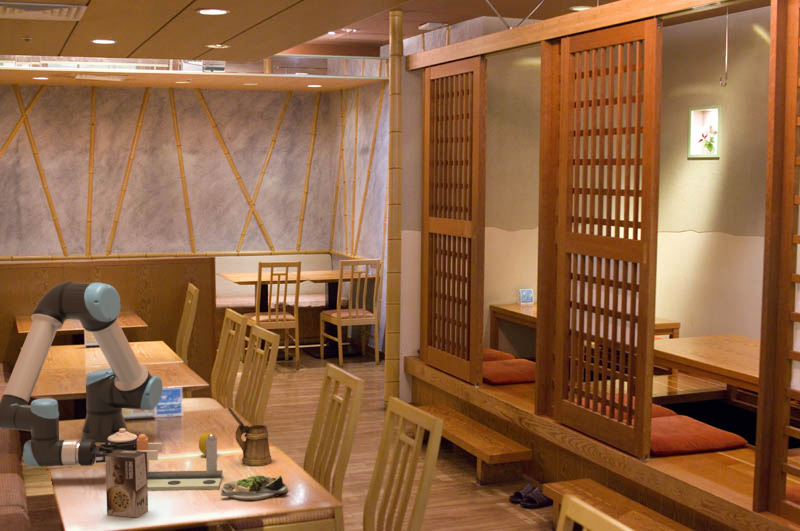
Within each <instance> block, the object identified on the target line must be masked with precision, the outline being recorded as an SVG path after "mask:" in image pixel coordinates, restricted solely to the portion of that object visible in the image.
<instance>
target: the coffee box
mask: <svg viewBox="0 0 800 531" xmlns="http://www.w3.org/2000/svg"><path fill="white" fill-rule="evenodd" d="M104 464H105V465H104V466H105V487H106V488H105V489H106V515H107V514H108V515H107V516H116V515H117V516H118V517H128V518H129V517H130V518H138V517H140V516H141V515H143V514H145V513H146V512H148V511H149V498H148V497H149V496H148V494H149V493H148V492H149V491H148V485H147V452H145V451H132V450H115V451H113V452H112V453H110V454H108V455H106V456H105V462H104Z"/></svg>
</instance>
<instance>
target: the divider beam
mask: <svg viewBox="0 0 800 531" xmlns="http://www.w3.org/2000/svg"><path fill="white" fill-rule="evenodd" d="M205 456H206V457H205V459H206V467H205V468H206V470H174V471H173V470H172V471H171V470H170V471H169V470H168V471H167V470H165V471H164V470H161V471H160V470H159V471H148V473H147V480H156V479H212V478H221V481H222V480H223V477H224V476H223V473H224V472H223V470H220V469H219V470H218V438H217V437H216V435H215V434H213V433H212V434H209V435H208V437H207V440H206V455H205Z"/></svg>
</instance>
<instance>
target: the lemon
mask: <svg viewBox="0 0 800 531" xmlns="http://www.w3.org/2000/svg"><path fill="white" fill-rule="evenodd" d="M209 434H213V433H212V432H209V431H205V432H204V433H202V434H201V435H200V437H199V440H198V447H199V448H198V449H199V451H200V452H201V453H202V454H203V455H205V456H206V440H207V437H208V435H209Z"/></svg>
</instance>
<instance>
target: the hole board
mask: <svg viewBox="0 0 800 531" xmlns="http://www.w3.org/2000/svg"><path fill="white" fill-rule="evenodd" d="M221 483H222V480H221V478H212V479H156V480H147V485H148V492H150V490H151V492H152V491H153V492H154V491H188V490H189V491H193V490H195V491H196V490H197V491H199V490H201V491H202V490H219V489H220V486H221Z"/></svg>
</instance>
